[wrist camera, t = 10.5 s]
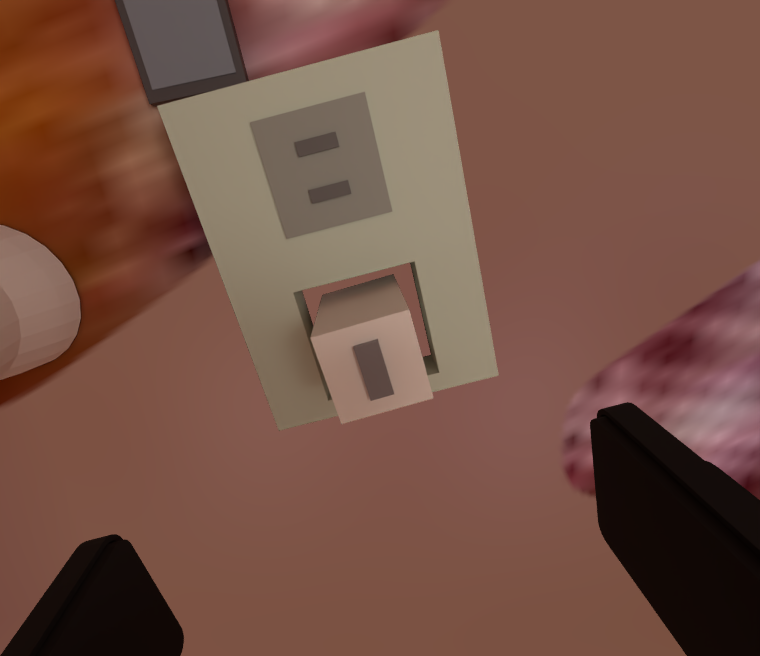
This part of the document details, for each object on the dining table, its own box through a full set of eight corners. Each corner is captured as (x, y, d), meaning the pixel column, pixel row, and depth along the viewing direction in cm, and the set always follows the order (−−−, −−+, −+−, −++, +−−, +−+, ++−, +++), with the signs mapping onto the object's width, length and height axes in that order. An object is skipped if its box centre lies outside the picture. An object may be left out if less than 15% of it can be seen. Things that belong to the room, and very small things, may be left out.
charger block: (322, 295, 23) (309, 340, 17) (393, 274, 23) (410, 311, 16) (344, 360, 25) (341, 427, 18) (411, 340, 25) (434, 401, 18)
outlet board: (179, 115, 20) (153, 104, 18) (428, 48, 20) (439, 27, 17) (285, 407, 25) (277, 434, 23) (484, 357, 25) (500, 378, 22)
